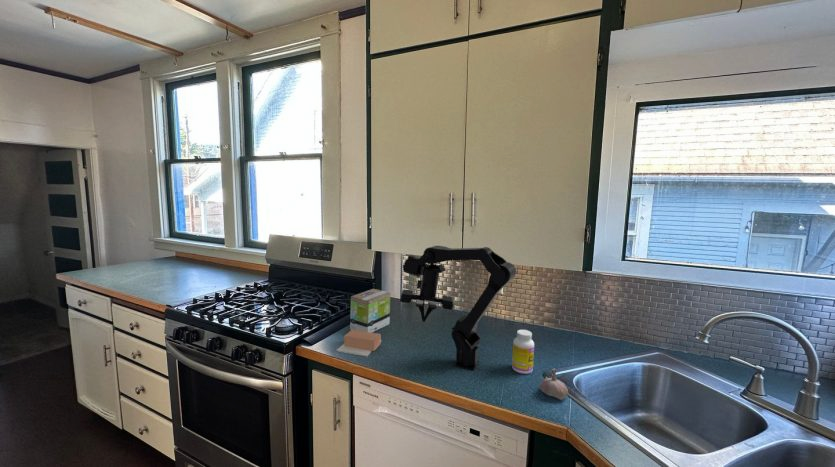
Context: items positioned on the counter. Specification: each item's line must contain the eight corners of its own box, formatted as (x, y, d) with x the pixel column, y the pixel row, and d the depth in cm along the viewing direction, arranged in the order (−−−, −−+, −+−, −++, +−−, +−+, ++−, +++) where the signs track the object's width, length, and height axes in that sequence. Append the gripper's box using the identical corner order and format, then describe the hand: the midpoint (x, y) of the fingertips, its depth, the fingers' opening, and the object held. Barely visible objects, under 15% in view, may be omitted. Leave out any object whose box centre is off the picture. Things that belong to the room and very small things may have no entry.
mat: (381, 341, 133) (381, 339, 133) (366, 356, 121) (366, 355, 121) (353, 336, 137) (353, 335, 137) (336, 351, 125) (336, 349, 125)
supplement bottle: (529, 376, 110) (532, 338, 108) (509, 370, 113) (511, 333, 112) (534, 367, 115) (537, 331, 114) (515, 362, 119) (517, 326, 117)
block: (380, 334, 129) (351, 329, 133) (373, 340, 124) (344, 335, 127) (380, 344, 130) (352, 339, 133) (373, 351, 124) (344, 346, 128)
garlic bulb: (534, 389, 103) (536, 364, 102) (555, 385, 105) (556, 361, 104) (551, 404, 96) (553, 377, 95) (573, 400, 98) (575, 373, 97)
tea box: (368, 336, 138) (368, 300, 136) (349, 330, 143) (349, 296, 141) (390, 324, 151) (390, 291, 149) (372, 319, 156) (372, 287, 154)
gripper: (454, 277, 129) (448, 315, 133) (405, 269, 130) (400, 308, 133) (456, 287, 119) (449, 329, 122) (403, 279, 119) (397, 321, 122)
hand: (423, 321), depth 125 cm, fingers closed
